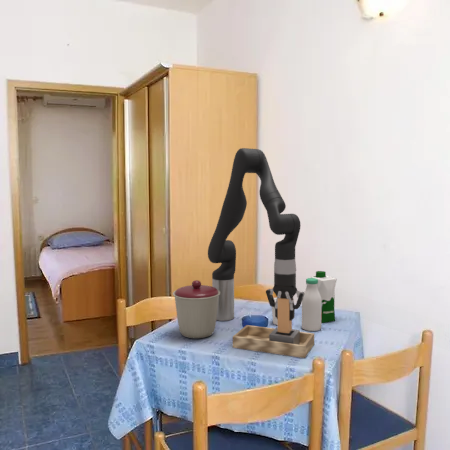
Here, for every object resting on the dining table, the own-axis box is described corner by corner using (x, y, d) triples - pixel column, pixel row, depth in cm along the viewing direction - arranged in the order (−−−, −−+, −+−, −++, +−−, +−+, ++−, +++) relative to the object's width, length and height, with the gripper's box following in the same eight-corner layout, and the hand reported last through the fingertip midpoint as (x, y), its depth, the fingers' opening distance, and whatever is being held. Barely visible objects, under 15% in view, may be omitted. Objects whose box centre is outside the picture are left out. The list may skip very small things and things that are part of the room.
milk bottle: (321, 332, 184) (322, 281, 182) (301, 331, 186) (301, 280, 184) (321, 326, 192) (322, 277, 190) (302, 324, 193) (302, 276, 191)
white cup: (278, 327, 191) (278, 303, 190) (267, 322, 198) (267, 298, 196) (294, 324, 194) (294, 300, 193) (283, 319, 201) (283, 296, 200)
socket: (269, 348, 166) (269, 334, 166) (276, 340, 174) (276, 327, 174) (293, 351, 163) (293, 337, 162) (299, 343, 171) (299, 330, 170)
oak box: (232, 347, 169) (232, 336, 168) (246, 335, 182) (246, 325, 181) (304, 358, 159) (305, 346, 158) (314, 344, 171) (314, 333, 171)
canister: (183, 325, 194) (182, 274, 192) (226, 328, 190) (225, 276, 187) (166, 340, 177) (165, 284, 175) (213, 344, 172) (212, 287, 170)
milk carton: (325, 315, 206) (325, 270, 204) (338, 321, 198) (339, 273, 196) (308, 318, 202) (308, 271, 200) (321, 324, 194) (321, 276, 192)
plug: (277, 331, 167) (277, 298, 166) (280, 328, 171) (280, 295, 169) (288, 333, 165) (288, 299, 164) (291, 329, 169) (291, 296, 168)
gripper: (262, 271, 165) (262, 320, 167) (302, 274, 160) (302, 324, 161) (268, 267, 172) (268, 314, 174) (307, 270, 166) (307, 318, 168)
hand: (284, 319), depth 168 cm, fingers closed on plug, 4 cm apart
